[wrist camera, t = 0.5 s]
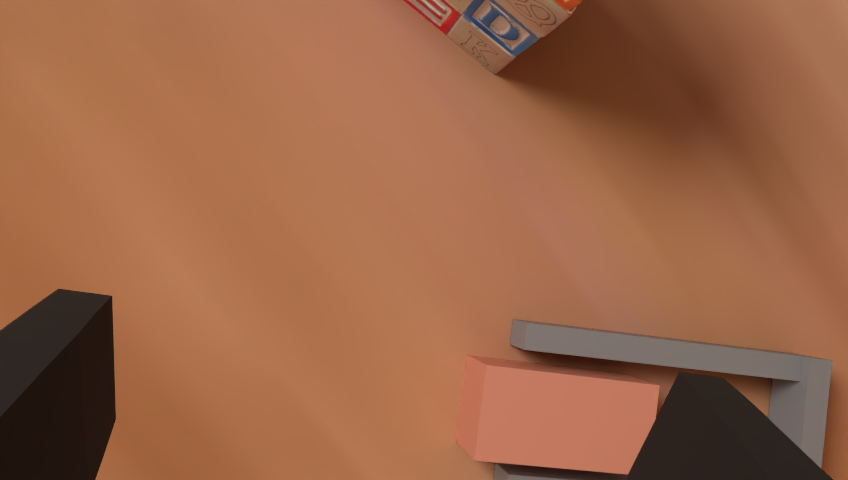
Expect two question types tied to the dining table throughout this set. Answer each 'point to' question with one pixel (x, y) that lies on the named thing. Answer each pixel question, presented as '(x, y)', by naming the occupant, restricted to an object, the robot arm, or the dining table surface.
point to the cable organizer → (791, 373)
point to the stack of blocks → (495, 25)
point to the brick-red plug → (554, 415)
